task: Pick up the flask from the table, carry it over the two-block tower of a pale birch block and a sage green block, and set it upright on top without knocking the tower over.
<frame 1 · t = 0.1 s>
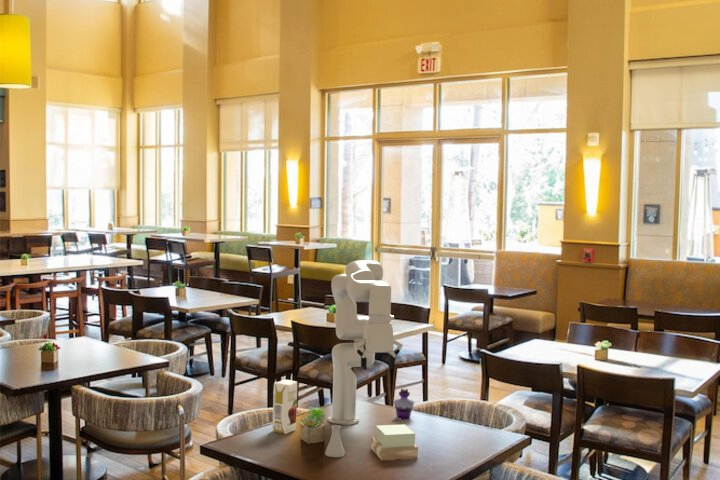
hand: (377, 368, 254), 31 cm above the table, tool pointing down, fingers open, 9 cm apart
birch base block: (393, 454, 260), on the table, touching sage top block
sage top block: (394, 442, 260), point 4 cm above the table, touching birch base block
juice carton: (284, 431, 282), on the table
flask: (335, 455, 256), on the table
potion bottle: (403, 418, 306), on the table
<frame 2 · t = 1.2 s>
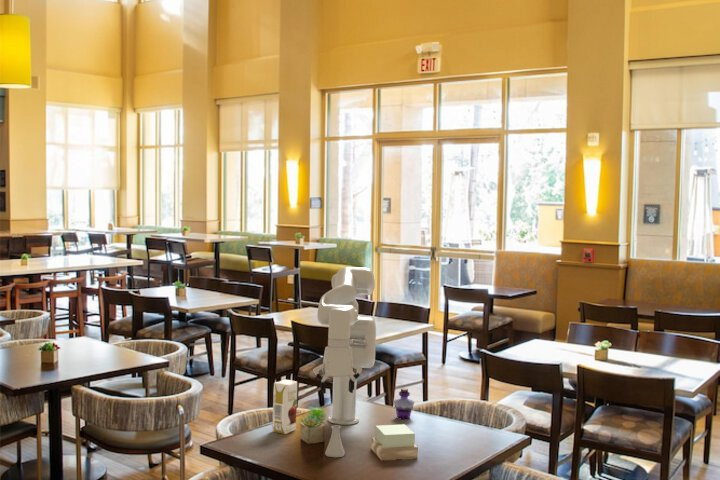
hand: (337, 392, 255), 22 cm above the table, tool pointing down, fingers open, 9 cm apart
nothing on the table moved.
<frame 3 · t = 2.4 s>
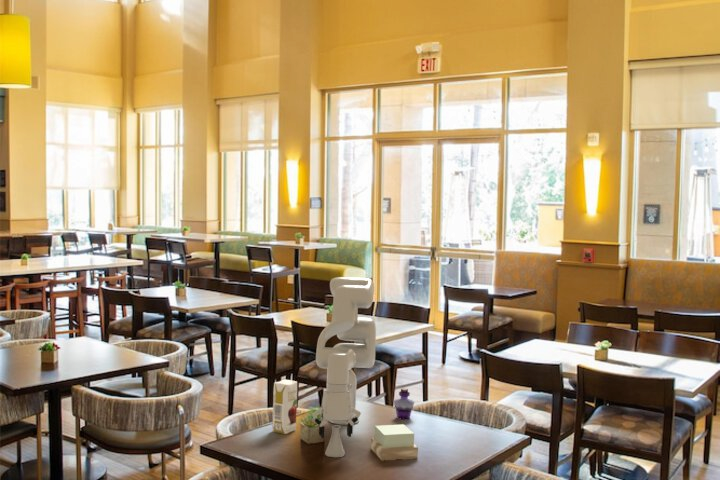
hand: (335, 436, 255), 6 cm above the table, tool pointing down, fingers open, 9 cm apart
nothing on the table moved.
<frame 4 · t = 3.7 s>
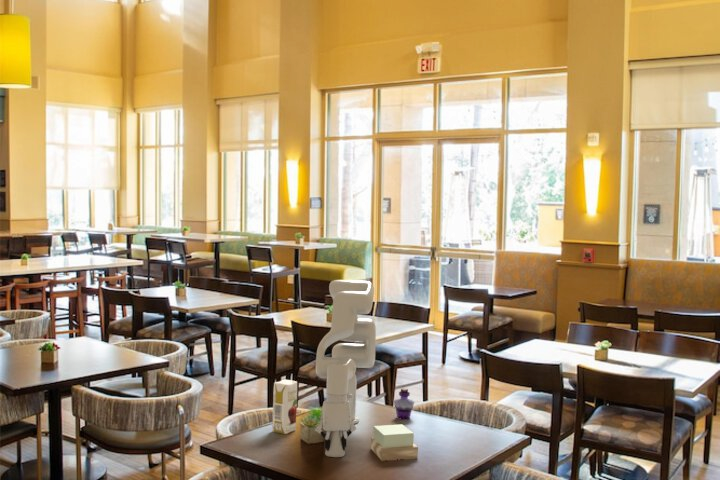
hand: (335, 449, 256), 2 cm above the table, tool pointing down, fingers closed on flask, 4 cm apart
flask: (335, 455, 256), on the table, touching gripper
everything else where it was.
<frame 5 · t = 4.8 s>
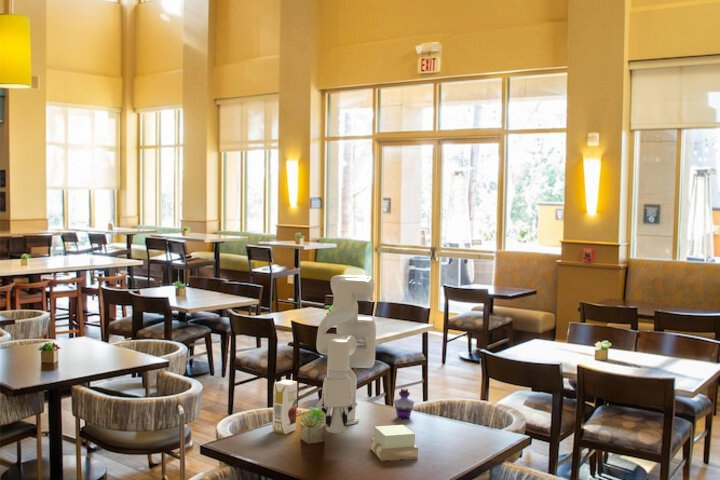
hand: (336, 425, 257), 10 cm above the table, tool pointing down, fingers closed on flask, 4 cm apart
birch base block: (393, 455, 260), on the table
sage top block: (394, 442, 260), point 4 cm above the table
flask: (336, 431, 257), point 8 cm above the table, touching gripper
everything else where it was.
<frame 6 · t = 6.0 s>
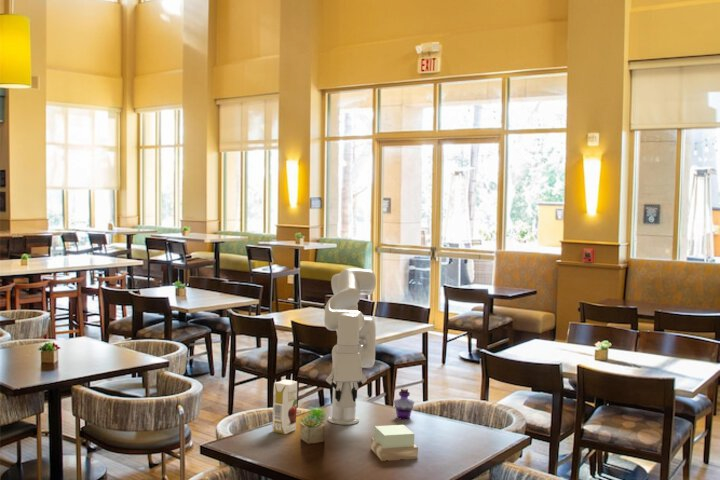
hand: (345, 400, 256), 19 cm above the table, tool pointing down, fingers closed on flask, 4 cm apart
flask: (345, 406, 256), point 17 cm above the table, touching gripper
everything else where it was.
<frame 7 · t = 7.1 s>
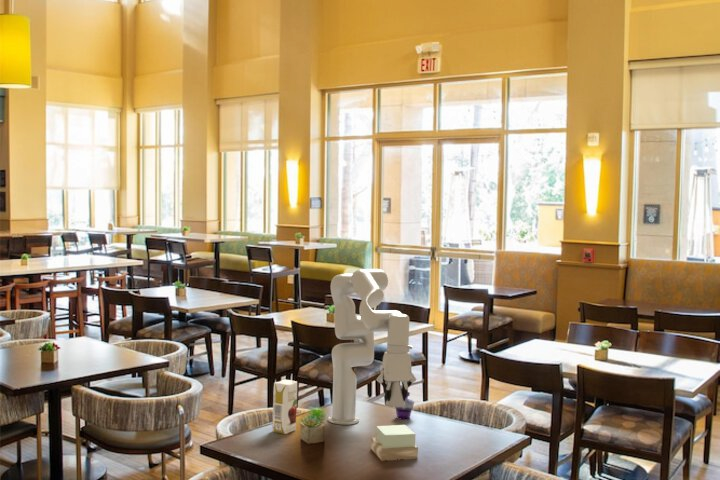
hand: (395, 399, 259), 19 cm above the table, tool pointing down, fingers closed on flask, 4 cm apart
birch base block: (393, 454, 260), on the table, touching sage top block
sage top block: (395, 442, 259), point 4 cm above the table, touching birch base block
flask: (395, 405, 259), point 17 cm above the table, touching gripper
everything else where it was.
when the fingers open (12 cm above the table, at t = 9.0 s): flask drops 2 cm, resting on sage top block.
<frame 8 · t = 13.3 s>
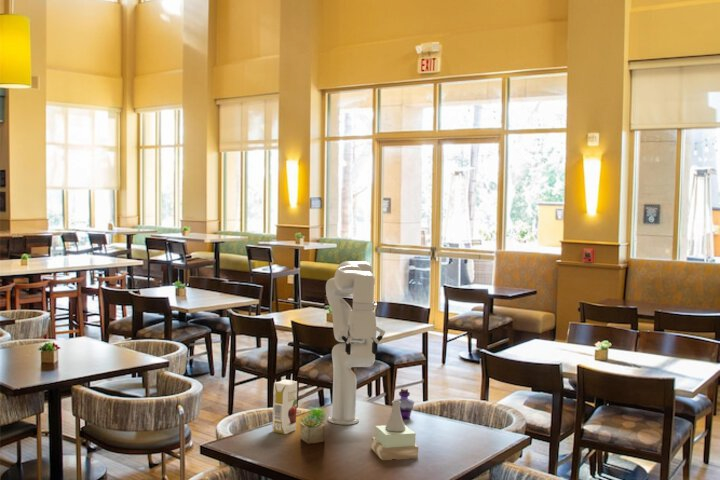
hand: (361, 353, 268), 33 cm above the table, tool pointing down, fingers open, 9 cm apart
sage top block: (394, 442, 260), point 4 cm above the table, touching birch base block, flask
flask: (395, 430, 260), point 8 cm above the table, touching sage top block
everything else where it was.
at the end: flask 0.0 cm off-centre on the sage top block, point 4.3 cm above the sage top block's base; flask tilted 0°; sage top block 0.3 cm off-centre on the birch base block, point 4.5 cm above the birch base block's base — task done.
